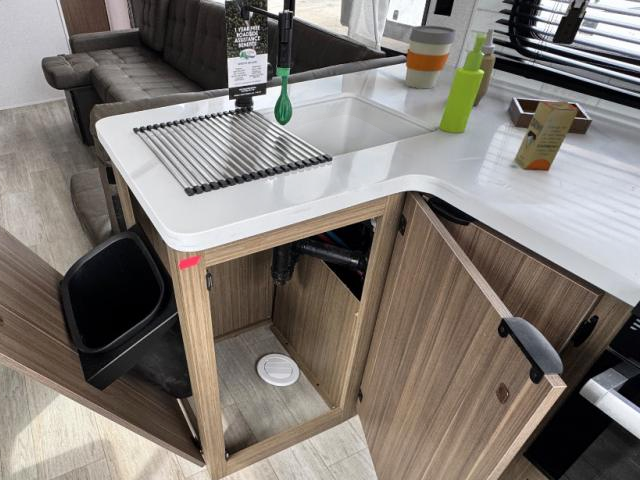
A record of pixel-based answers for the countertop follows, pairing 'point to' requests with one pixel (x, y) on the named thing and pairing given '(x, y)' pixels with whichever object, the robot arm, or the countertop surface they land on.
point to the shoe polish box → (545, 135)
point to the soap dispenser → (464, 90)
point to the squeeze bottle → (486, 65)
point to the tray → (526, 109)
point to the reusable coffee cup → (427, 54)
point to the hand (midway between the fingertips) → (563, 39)
